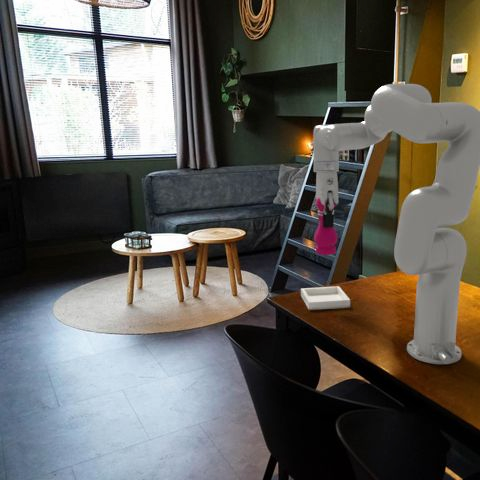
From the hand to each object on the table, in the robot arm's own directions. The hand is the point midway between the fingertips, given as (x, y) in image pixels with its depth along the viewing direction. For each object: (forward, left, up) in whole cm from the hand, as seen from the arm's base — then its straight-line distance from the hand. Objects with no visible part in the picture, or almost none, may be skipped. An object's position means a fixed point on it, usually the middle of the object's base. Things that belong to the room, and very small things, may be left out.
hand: (325, 224), depth 152 cm
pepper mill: (0, 0, -9) cm, 9 cm away
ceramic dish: (0, 0, -25) cm, 25 cm away
